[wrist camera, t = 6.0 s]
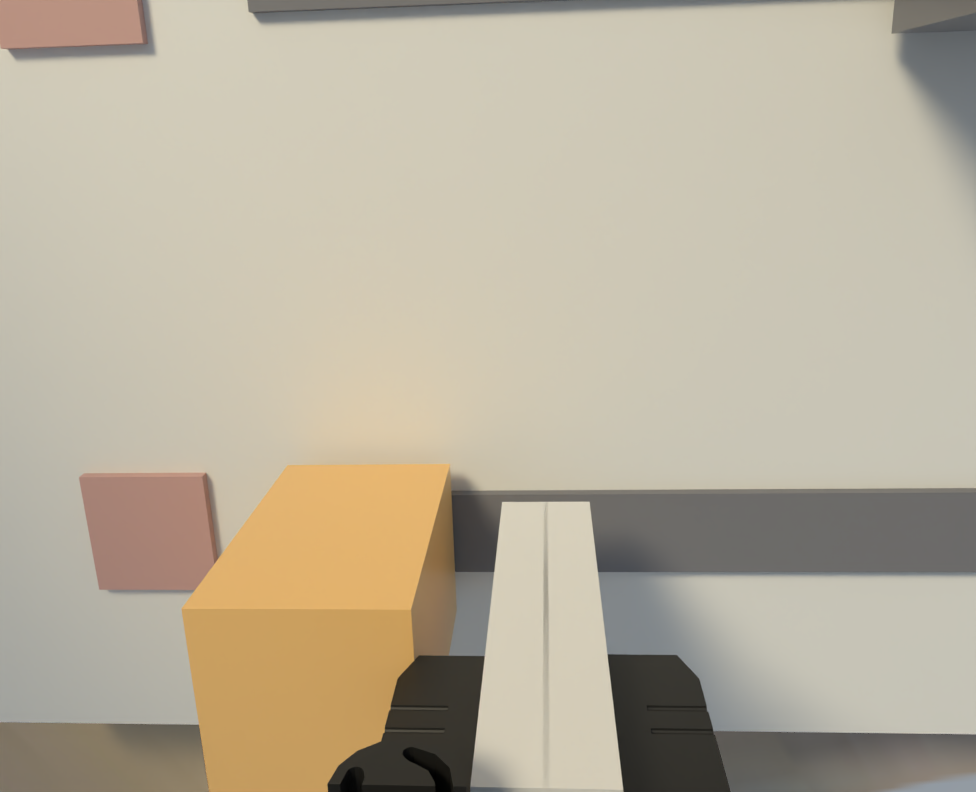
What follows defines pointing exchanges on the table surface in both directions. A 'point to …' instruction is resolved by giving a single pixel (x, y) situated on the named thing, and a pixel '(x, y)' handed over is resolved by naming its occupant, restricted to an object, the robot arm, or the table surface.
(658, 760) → the robot arm
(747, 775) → the table surface
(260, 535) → the block
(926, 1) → the block
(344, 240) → the white flat board
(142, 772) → the table surface
